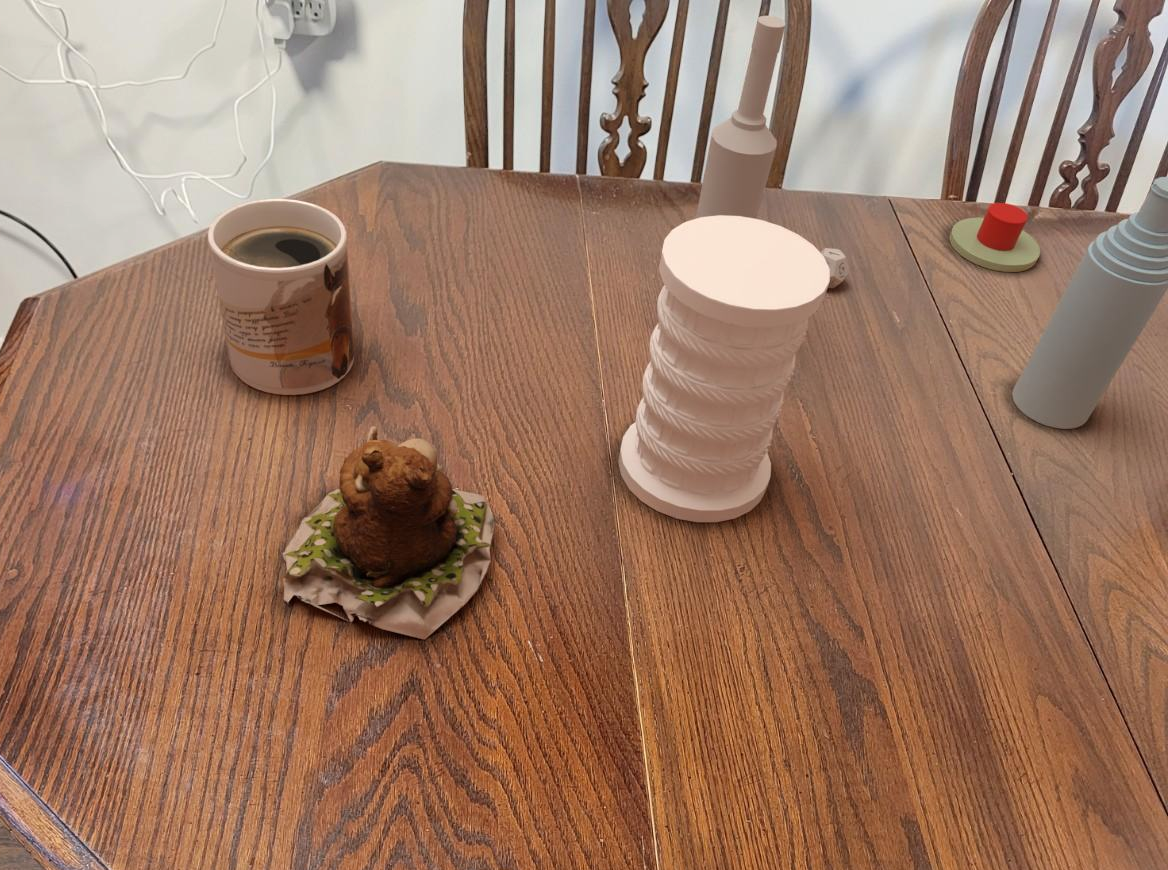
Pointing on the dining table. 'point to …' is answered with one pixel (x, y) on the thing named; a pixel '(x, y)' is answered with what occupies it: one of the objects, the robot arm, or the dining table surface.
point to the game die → (836, 265)
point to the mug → (284, 294)
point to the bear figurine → (392, 541)
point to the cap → (1002, 226)
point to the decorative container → (720, 364)
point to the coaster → (1005, 261)
